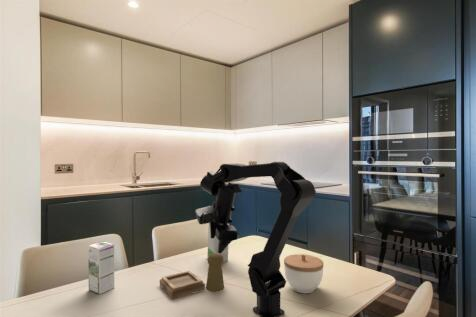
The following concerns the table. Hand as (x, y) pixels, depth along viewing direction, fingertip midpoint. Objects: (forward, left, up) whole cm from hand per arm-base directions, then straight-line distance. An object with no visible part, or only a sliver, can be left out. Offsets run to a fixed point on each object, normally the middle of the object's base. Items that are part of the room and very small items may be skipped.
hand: (215, 245), depth 97 cm
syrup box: (+18, +32, -14) cm, 39 cm away
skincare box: (+21, -13, -14) cm, 28 cm away
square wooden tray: (+5, +10, -14) cm, 17 cm away
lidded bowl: (-17, -23, -14) cm, 32 cm away
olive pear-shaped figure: (-1, +1, -14) cm, 14 cm away
